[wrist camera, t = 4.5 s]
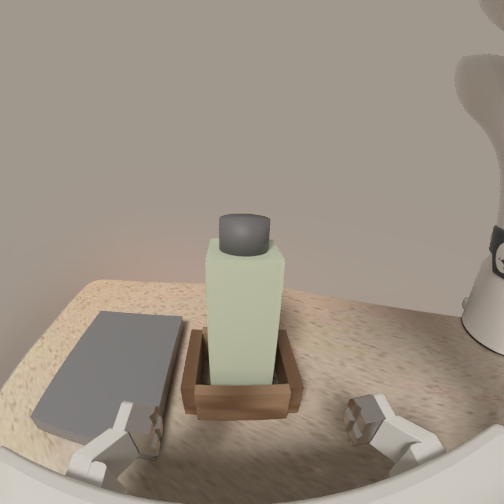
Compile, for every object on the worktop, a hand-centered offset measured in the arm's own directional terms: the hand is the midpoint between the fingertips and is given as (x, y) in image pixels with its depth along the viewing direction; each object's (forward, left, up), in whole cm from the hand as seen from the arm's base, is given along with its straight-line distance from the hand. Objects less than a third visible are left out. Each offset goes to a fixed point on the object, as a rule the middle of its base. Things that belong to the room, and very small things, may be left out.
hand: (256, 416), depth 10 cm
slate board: (+11, -10, -8) cm, 17 cm away
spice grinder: (0, -10, -8) cm, 13 cm away
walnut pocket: (0, -10, -8) cm, 13 cm away
